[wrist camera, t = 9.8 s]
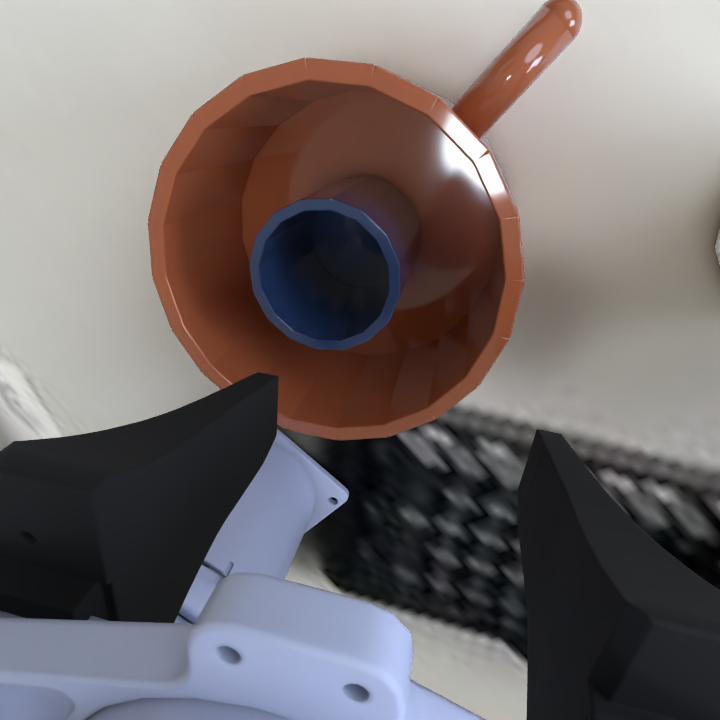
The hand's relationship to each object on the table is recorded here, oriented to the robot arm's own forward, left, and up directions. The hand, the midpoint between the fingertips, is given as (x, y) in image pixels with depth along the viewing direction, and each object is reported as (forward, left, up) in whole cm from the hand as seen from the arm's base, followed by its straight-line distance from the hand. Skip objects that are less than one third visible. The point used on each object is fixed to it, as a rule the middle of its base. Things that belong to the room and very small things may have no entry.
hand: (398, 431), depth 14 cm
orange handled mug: (+2, +4, -10) cm, 12 cm away
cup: (0, +4, -10) cm, 11 cm away
